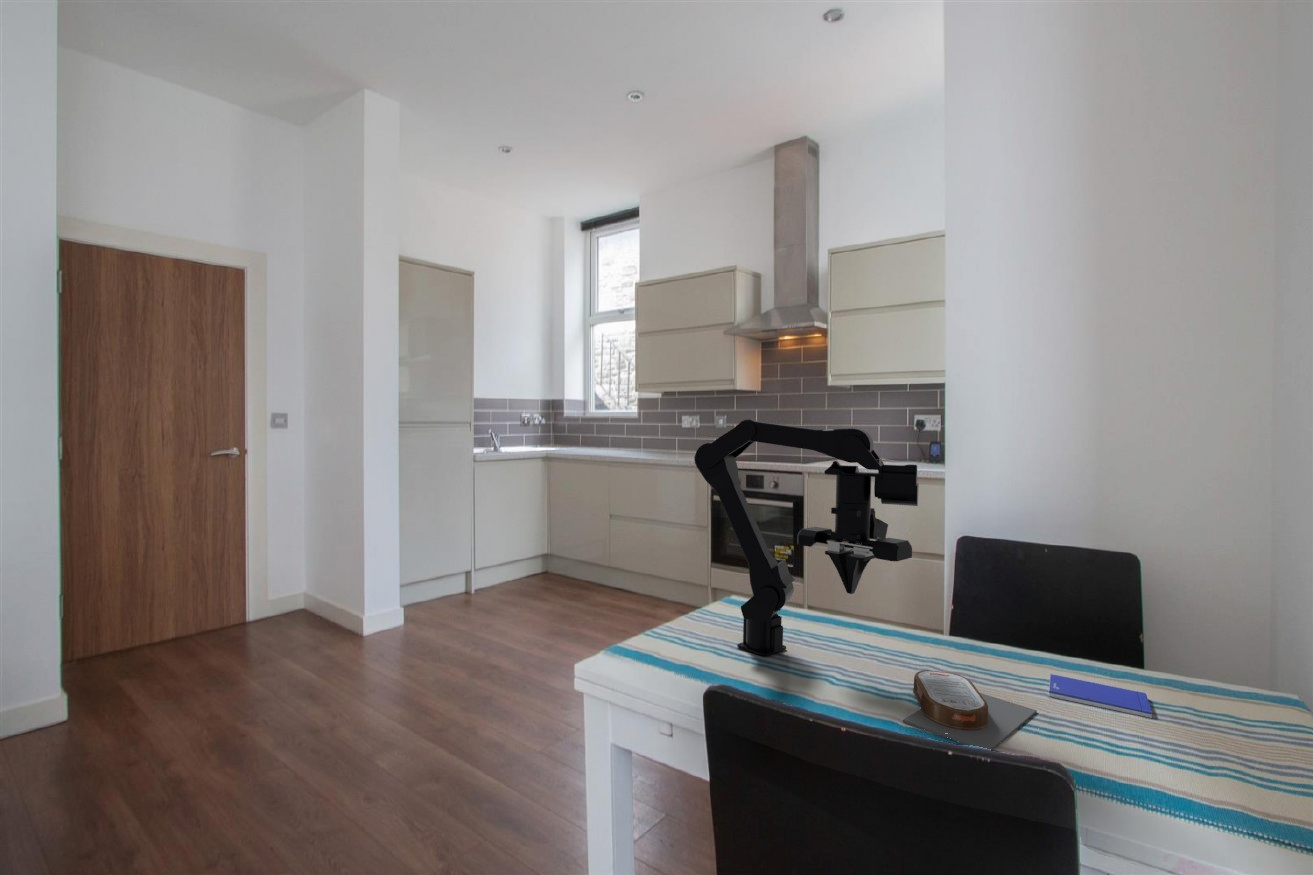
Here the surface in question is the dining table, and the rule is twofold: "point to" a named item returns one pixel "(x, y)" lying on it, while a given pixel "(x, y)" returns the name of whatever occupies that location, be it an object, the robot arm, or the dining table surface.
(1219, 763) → the dining table surface
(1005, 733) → the mat
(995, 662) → the dining table surface
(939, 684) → the tin
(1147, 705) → the hard drive
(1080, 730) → the dining table surface
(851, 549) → the robot arm
